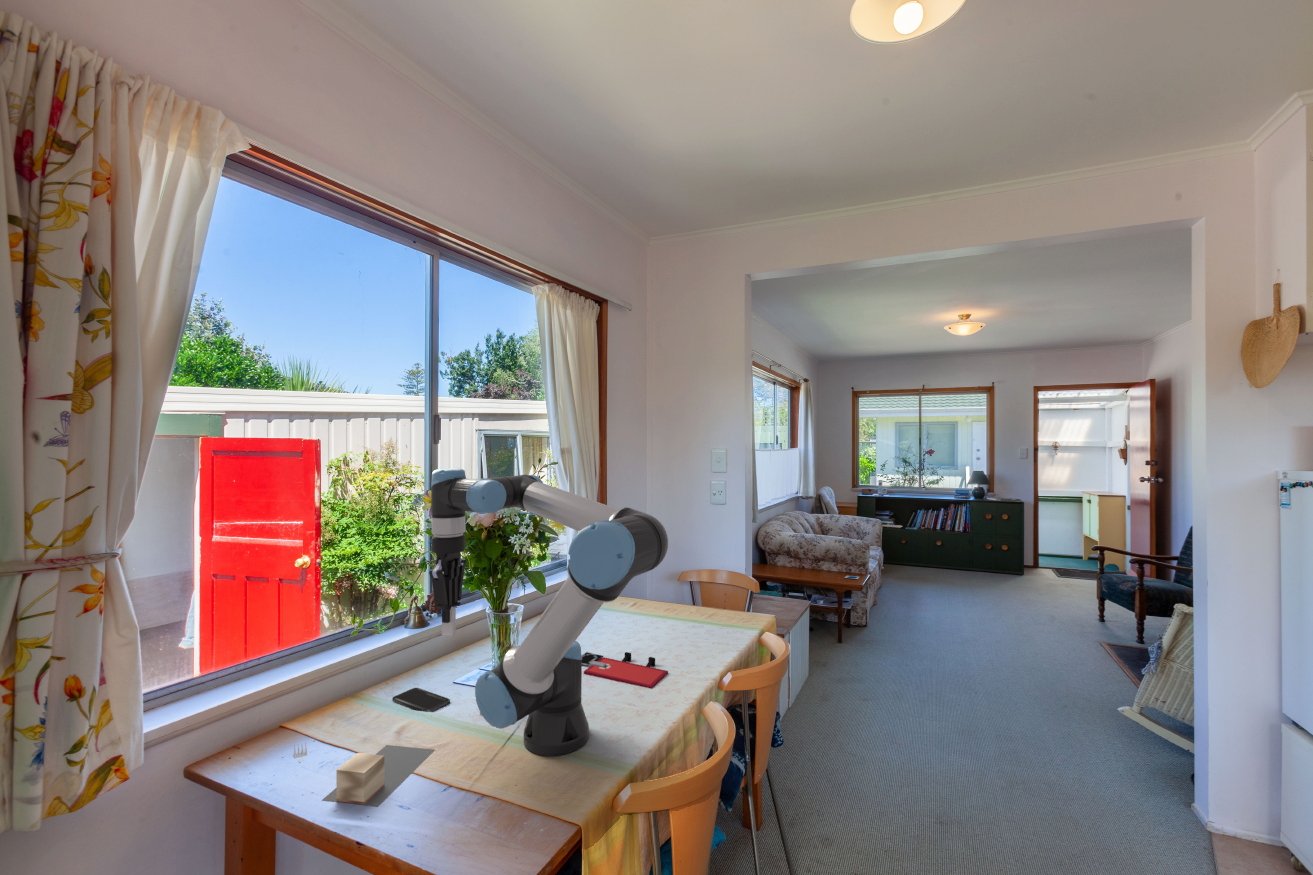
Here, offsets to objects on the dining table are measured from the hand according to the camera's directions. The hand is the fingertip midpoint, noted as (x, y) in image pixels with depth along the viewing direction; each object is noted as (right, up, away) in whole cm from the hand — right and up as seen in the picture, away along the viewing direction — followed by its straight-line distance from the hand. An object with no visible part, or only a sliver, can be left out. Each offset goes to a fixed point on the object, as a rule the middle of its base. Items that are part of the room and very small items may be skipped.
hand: (448, 634), depth 134 cm
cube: (-10, -18, -21) cm, 29 cm away
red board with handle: (+37, -25, +40) cm, 60 cm away
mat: (-9, -25, -15) cm, 30 cm away
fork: (-27, -25, -12) cm, 39 cm away
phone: (-14, -25, +19) cm, 34 cm away
